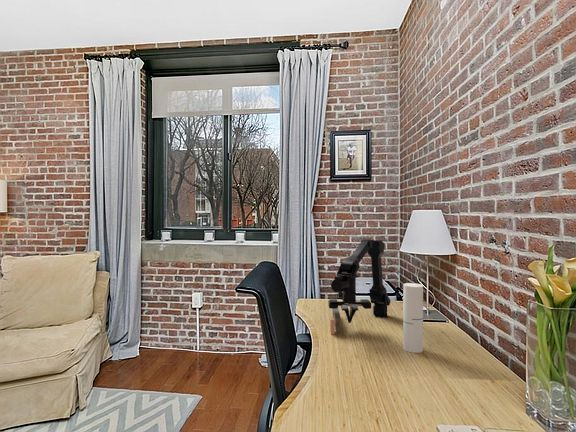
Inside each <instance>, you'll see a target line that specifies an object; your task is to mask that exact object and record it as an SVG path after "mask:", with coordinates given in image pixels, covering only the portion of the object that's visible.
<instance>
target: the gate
mask: <svg viewBox="0 0 576 432" xmlns="http://www.w3.org/2000/svg"><path fill="white" fill-rule="evenodd" d="M334 319H335V333H340V331H341V329H340V327H341V325H340V323H341V322H340V321H341V314H340V310H339V307H338V308H337V309H334Z"/></svg>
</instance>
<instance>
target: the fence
mask: <svg viewBox="0 0 576 432" xmlns="http://www.w3.org/2000/svg"><path fill="white" fill-rule="evenodd" d="M329 319H330V335H335V334H336V330H335V319H334V309H332V316H330V318H329Z"/></svg>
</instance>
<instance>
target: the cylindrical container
mask: <svg viewBox="0 0 576 432" xmlns="http://www.w3.org/2000/svg"><path fill="white" fill-rule="evenodd" d="M402 285H403V291H402V292H403V295H402V296H403V299H402V300H403V301H402V302H403V303H402V304H403V307H402V308H403V309H402V310H403V315H402V316H403V320H402V323H403V325H402V326H403V330H402V331H403V332H402V334H403V336H402V337H403V338H402V341H403V345H402V347H403V350H404V351H406V352H408V353H414V354H420V353H422V352H423V351H424V285H423V284H421V283H414V282H405V283H403V284H402Z"/></svg>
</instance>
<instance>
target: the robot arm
mask: <svg viewBox="0 0 576 432" xmlns="http://www.w3.org/2000/svg"><path fill="white" fill-rule="evenodd" d="M384 253H385V243H384V241H382V240H378V239H371V238H369V239H368V238H363V239H361V240H360V242H359V244H358V245H357V247H356V248H355V250H354V251H353V252H352V254H351V255H350V256H348V257H345V258H344V259H343V260H342V261H341V263H340V265H339V268H338V269H337V273H336V275H335V276H334V279H333V280H331V283H330V287H331V290H332V291H333V292H334V293H337V294H338V295H337V298H338V299H341V301H338V299H335V298H334V299H333V298H332V299H331V298H330V299H329V300H327V301H328V302H327V303H328V304H327V305H328V308H329V309H332V310H333V309H337V308H338V309H339V307H340V308H341V310H342V311H344V313H345V317H346V319H347V321H348V324H351V323H352V321H353V319H354V318H353V317H354V316H355V314H356V312H357V311H359V307H363V308H364V309H365V310H366V309H369V310H371V309H372V315H373V316H374V317H375V318H389V315H388V306H390V305H391V301H392V300H391V299H390V297H389V295H388V292H387V288H386V286H385V285H384V281H383V267H382V256H383V254H384ZM367 254H368V255H369V257H370V261H371V273H372V286H371V288H369V299H370V300H369V299H368V298H367V299H362V298H361V299H360V301H357V297H356V296H357V293H356V291H357V287H356V285H357V282H356V280H357V278H358V277H359V276H358V275H357V273H358V271H359V269H360V267H361V265H360V262H362V259H363V258H364V257H365V256H366V255H367ZM372 304H373V305H372ZM348 307H349V308H348Z"/></svg>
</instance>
